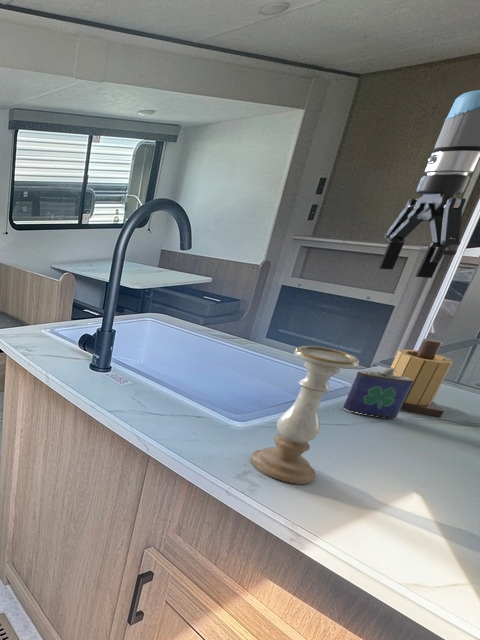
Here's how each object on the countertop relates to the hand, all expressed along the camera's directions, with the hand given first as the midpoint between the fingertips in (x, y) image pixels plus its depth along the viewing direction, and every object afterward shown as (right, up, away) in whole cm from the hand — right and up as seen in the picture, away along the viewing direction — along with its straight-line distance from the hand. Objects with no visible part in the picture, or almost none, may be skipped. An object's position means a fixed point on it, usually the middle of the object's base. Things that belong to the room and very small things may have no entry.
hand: (403, 273), depth 102 cm
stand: (-5, -31, -5) cm, 32 cm away
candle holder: (-53, -41, -32) cm, 74 cm away
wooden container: (-5, -30, -6) cm, 31 cm away
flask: (-19, -33, -11) cm, 40 cm away
